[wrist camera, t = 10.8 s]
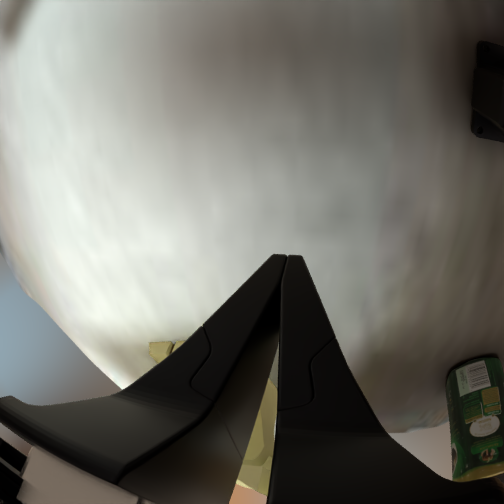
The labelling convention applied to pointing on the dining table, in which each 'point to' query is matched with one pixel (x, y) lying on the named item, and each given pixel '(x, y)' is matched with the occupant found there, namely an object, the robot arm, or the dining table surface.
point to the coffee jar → (477, 419)
